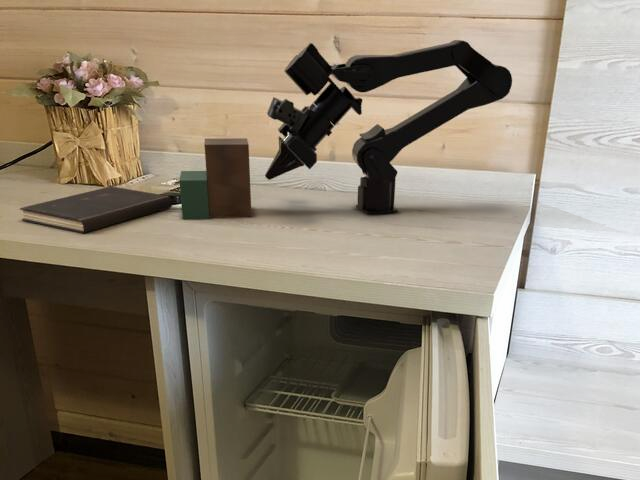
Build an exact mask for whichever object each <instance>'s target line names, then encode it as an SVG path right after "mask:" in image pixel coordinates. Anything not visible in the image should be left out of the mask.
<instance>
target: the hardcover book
mask: <svg viewBox="0 0 640 480" xmlns="http://www.w3.org/2000/svg"><path fill="white" fill-rule="evenodd" d="M172 204H173V203H172V198H171V197H170V196H169V195H166V194H159V193H154V192H147V191H141V190H136V189H129V188H123V187H117V186H112V185H111V186H106V187H102V188H97V189H94V190H89V191H85V192H82V193H77V194H73V195H69V196H64V197H59V198H55V199H52V200H48V201H43V202H40V203H35V204H31V205H27V206H22V207H19V211H22V216H23V218H21V221H22V222H26V223H31V224H35V225H42V226H45V227H46V226H47V227H51V228H55V229H61V230H66V231H69V232H75V233H78V234H79V233H80V234H85V233H88V232H89V233H90V232H93V231H96V230H99V229H103V228H106V227H109V226H112V225H113V226H114V225H116V224H119V223H124V222H126V221H129V220H133V219H136V218H140V217H143V216H147V215H151V214H154V213H157V212H161V211H164V210H168V209H171V208H172V206H173V205H172Z"/></svg>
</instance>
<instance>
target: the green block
mask: <svg viewBox="0 0 640 480" xmlns="http://www.w3.org/2000/svg"><path fill="white" fill-rule="evenodd" d="M178 183H179V192H180V193H179V194H180V204H181V205H180V206H181V216H182V220H209V219H210V218H211V217H209V203H208V188H207V174H206V170H180V175H179V180H178Z"/></svg>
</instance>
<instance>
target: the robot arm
mask: <svg viewBox="0 0 640 480" xmlns="http://www.w3.org/2000/svg"><path fill="white" fill-rule="evenodd" d="M454 66H455V67H456V68H457V70H459V71H460V72H461V73H462V74H463V76H465V77H466V78H465V79H464V80H463V82H461V84H460V85H459V86H458V87H457V88H455V89H454V90H453V91H451V92H449V93H448V94H446V95H445V96H443V97H441V98H439V99H438V100H436V101H435V102H433V103H430V105H428V106H426V107H425V108H423V109H420V111H418V112H416V113H414V114H412V115H411V116H409V117H408V118H406V119H404V120H403V121H401V122H399V123H397V124H396V125H394V126H393V127H390V128H384V127H383V126H381V125H380V124H378V123H377V124H375V125H374V126H373V127H371V128H370V129H369V130H368V131H366V132H362V133H359V138H358V139H357V140H356V141H355V142H354V143H353V146H352V149H351V156H352V160H353V161H354V163H355V164H356V165H357V166H358V168H359V169H361V172H362V174H363V175H364V176H361V177H359V179H360V180H359V181H360V183H359V185H358V186H357V204H356V205H355V208H356V209H358V210H360V211H362V212H363V213H365V214H366V215H379V214H391V213H398V209H397V207H395V195H396V181H397V180H396V179H397V176H398V170H397V169H396V168H395V167H394V166H393V165H392V164H391V162H392V161H393V160H394V159H395V158H396V157H397V156H398V154H400V152H401V151H402V150H403V149H404V148H405V147H408V146H409V145H410V144H412V143H414V142H416V141H418V140H419V139H421V138H422V137H424V136H426V135H429V133H432V132H433V131H435V130H436V129H438V128H439V127H442V126H443V125H445V124H446V123H448V122H450V121H451V120H453V119H455V118H457V117H458V116H460V115H461V114H463V113H465V112H467V111H469V110H471V109H475V108H479V107H483V106H487V105H489V104H492V103H495V102H499V101H501V100H503V99H505V98H506V97H507V96H508V95H509V93H510V92H511V89H512V86H513V77H512V76H513V75H512V73H511V71H510V70H509V69H508V68H507V67H505V66H502V65H498V64H495V63H493V62H492V61H490V60H489V59H488V58H486V57H485V56H484V55H482V54H481V53H480V52H478V50H476V49H475V48H473V47H472V46H471V44H470V43H469V42H467V41H465V40H461V39H454V40H452V41H450V42H447V43H443V44H438V45H437V44H436V45H433V46H429V47H423V48H418V49H414V50H410V51H405V52H400V53H395V54H355V55H353V56H350V58H348V59H347V61H346V62H345V63H339V64H336V63H333V65H330V64H329V62H328V61H327V60H326V59H325V58H324V57H323V55H322V54H321V53H320V52H319V50H318V48H317V47H316V45H315V44H314V43H312V42H309V43H308V44H307V45H306V47H304V48H303V49H302V50H301V51H300V52H299V53H298V54H295V56H294V57H292V59H291V60H290V62H289V63H288V64H287V66H286V67H285V68H284V71H283V72H284V73H285V74H286V75H287V76H288V77H289V78H290V80H291V81H292V82H293V83H294V84H295V85H296V86H297V87H298V88H299V89H300V91H301V92H302V93H303V94H304V95H305V96H308V95H310V93H311V94H312V95H313V96H317V95H318V94H319V93H320V92H321V93H320V94H319V95H318V96H317V98H315V100H314V101H313V102H312V103H311V104H310V105H307V106H306V105H304V107H302V109H298V108H297V107H295V106H294V105H295V104H294V102H293V101H291V100H288V99H287V98H284V99H283V100H281V99H279V98H277V97H275V96H273V97H272V100H271V102H270V105H269V108H268V110H267V112H266V114H267V116H268V117H269V118H271V119H273V120H274V121H276V120H277V121H279V122H282V124H281V125H280V127H278V129H277V131H278V133H280V134H282V136H283V138H282V137H281V136H280V135H278V137H277V138H278V150H277V153H276V154H275V156H274V157H273V160H272V161H271V163H270V165H269V167H268V168H267V171H266V172H265V174H264V177H265V178H266V179H267V180H269V181H270V180H273V179H275V178H277V177H279V176H282V175H284V174H286V173H289V172H292V171H293V170H296V169H298V168H301V167H304V166H305V167H307V169H309V170H311V169H312V168H313V167H314V166H315V164H316V163H317V162H318V154H317V152H316V151H317V150H318V149H317V147H318V146H319V144H320V143H321V142H322V141H323V140H324V139H325V138H326V137H330V136H331V135H332V133H333V131H332V130H334V128H335V127H336V126H337V125H338V124H339V122H340V121H341V120H342V119H343V118H344V117H345V116H346V115H347V114H348V112H349V111H350V110H351V109H352V110H353V111H354V112H355V113H356V114H357V115H358V116H361V115H362V114H363V112H362V104H363V99H362V98H361V97H355V96H354V95H353V93H352V92H351V91H350V90H349V89H348V88H347V87H346V86H345V85H343V86H342V87H341V88H339V86H338V85H337V84H336V83H335V82H334V81H333V80H332V79H331V78H330V76H332V78H334V79H335V80H337V81H338V82H342V83H346V85H347V86H348V87H349V88H351V89H352V90H354V91H355V92H358V93H369V92H371V91H373V90H375V89H377V88H380V87H382V86H385V85H386V84H389V83H390V82H392V81H394V80H396V79H399V78H404V77H408V76H413V75H417V74H423V73H426V72H431V71H436V70H440V69H445V68H450V67H454ZM327 84H328V85H327ZM325 86H326V87H325ZM324 87H325V88H324ZM323 89H324V90H323Z"/></svg>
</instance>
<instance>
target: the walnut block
mask: <svg viewBox="0 0 640 480" xmlns="http://www.w3.org/2000/svg"><path fill="white" fill-rule="evenodd" d="M203 143H204V144H203V145H204V158H205V159H204V160H205V171H206V174H207V188H208V203H209V217H210V218H243V217H244V218H249V217H250V218H251V217H253V216H252V193H251V170H250V169H251V168H250V166H251V165H250V145H249V141H248V138H245V137H244V138H241V137H240V138H237V137H235V138H232V137H231V138H204V142H203Z"/></svg>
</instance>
